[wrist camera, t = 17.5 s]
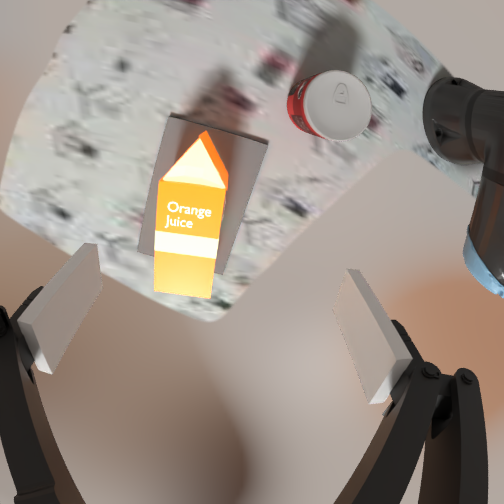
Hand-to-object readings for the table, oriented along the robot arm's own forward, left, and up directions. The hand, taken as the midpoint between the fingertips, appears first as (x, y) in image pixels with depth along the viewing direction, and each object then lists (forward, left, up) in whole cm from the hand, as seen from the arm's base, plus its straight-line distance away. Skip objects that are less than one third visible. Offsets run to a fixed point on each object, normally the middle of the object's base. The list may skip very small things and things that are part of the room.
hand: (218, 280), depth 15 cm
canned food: (-8, -13, -29) cm, 32 cm away
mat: (+3, +5, -28) cm, 29 cm away
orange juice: (+1, +15, -23) cm, 28 cm away
